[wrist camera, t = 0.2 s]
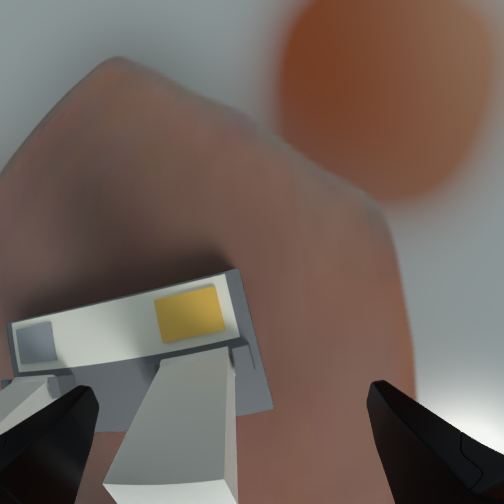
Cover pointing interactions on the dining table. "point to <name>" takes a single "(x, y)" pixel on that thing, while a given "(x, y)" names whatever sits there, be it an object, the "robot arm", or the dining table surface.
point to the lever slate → (23, 399)
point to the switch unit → (141, 344)
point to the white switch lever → (181, 436)
